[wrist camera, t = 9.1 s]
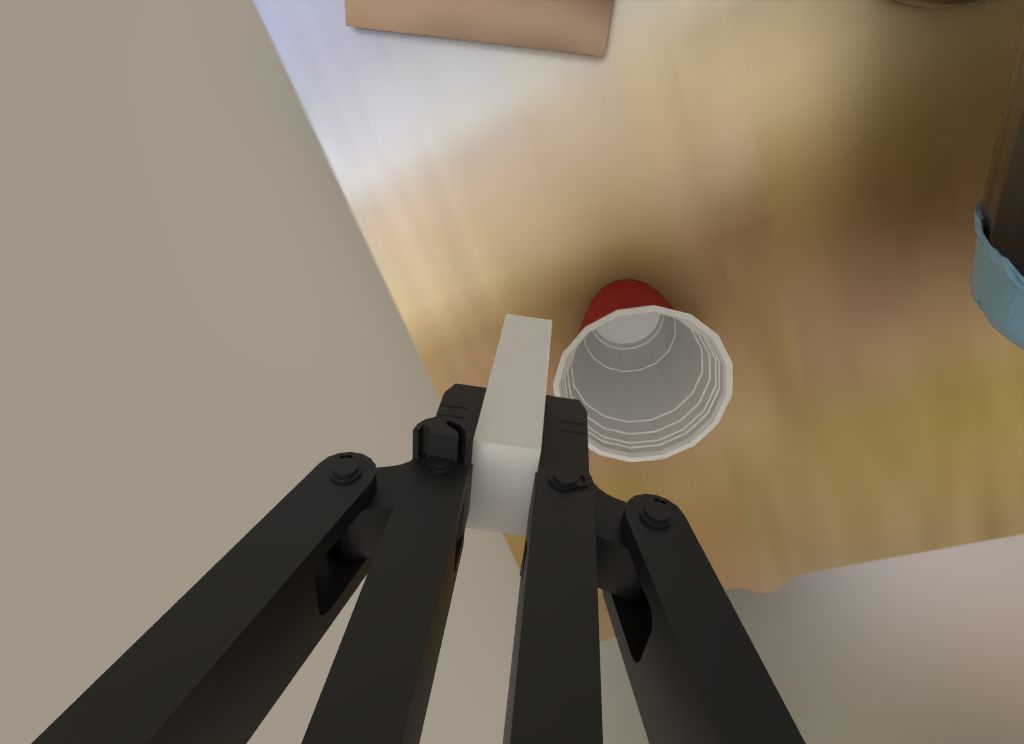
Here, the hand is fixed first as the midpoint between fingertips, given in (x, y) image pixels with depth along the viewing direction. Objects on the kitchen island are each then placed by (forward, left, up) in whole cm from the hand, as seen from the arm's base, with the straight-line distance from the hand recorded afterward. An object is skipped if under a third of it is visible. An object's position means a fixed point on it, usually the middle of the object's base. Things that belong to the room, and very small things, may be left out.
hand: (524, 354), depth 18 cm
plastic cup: (+2, +11, -25) cm, 27 cm away
